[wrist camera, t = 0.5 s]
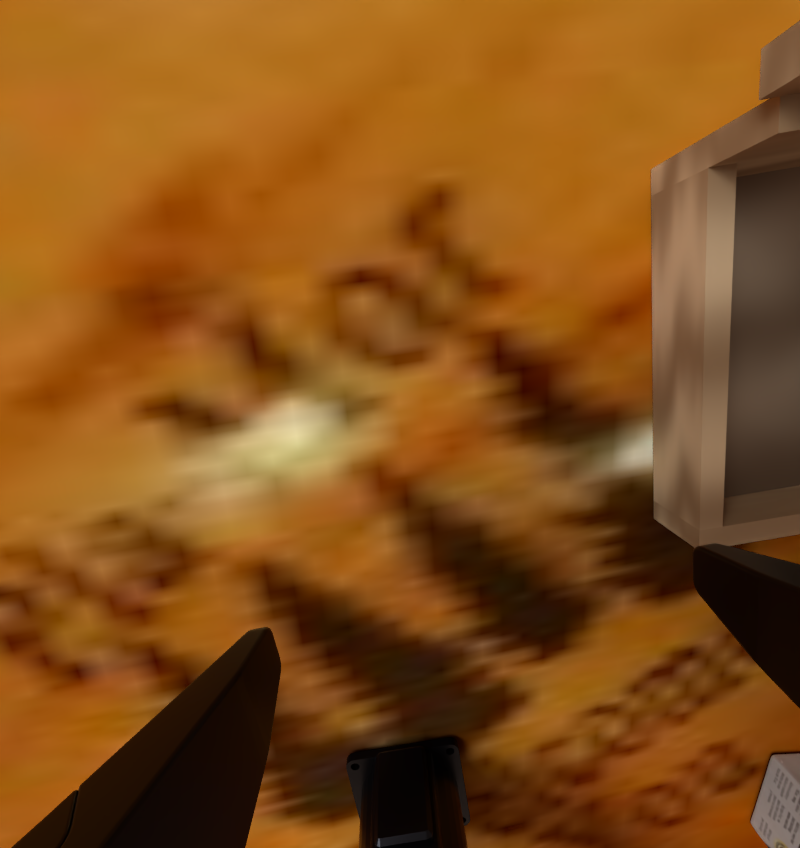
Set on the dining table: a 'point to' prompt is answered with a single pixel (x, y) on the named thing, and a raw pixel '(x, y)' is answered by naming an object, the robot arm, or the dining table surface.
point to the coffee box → (779, 803)
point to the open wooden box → (730, 321)
